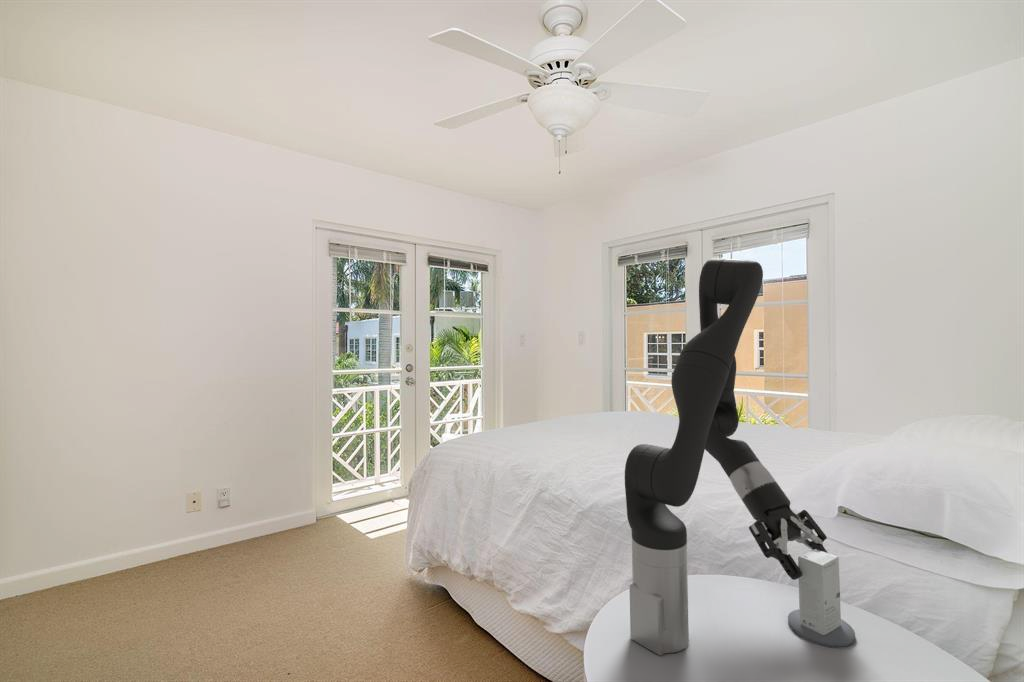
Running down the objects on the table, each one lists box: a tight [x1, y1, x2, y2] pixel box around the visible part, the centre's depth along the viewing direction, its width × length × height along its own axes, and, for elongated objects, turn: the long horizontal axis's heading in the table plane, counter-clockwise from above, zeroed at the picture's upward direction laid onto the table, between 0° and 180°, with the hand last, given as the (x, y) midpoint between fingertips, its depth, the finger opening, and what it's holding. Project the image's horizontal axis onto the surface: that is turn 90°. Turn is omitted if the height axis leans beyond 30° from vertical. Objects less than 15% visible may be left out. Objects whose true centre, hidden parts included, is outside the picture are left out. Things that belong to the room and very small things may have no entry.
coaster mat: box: [787, 609, 856, 649], centre depth 86 cm, size 10×10×1 cm
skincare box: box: [797, 549, 842, 635], centre depth 86 cm, size 6×4×12 cm
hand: (814, 572), depth 87 cm, fingers open, 8 cm apart
